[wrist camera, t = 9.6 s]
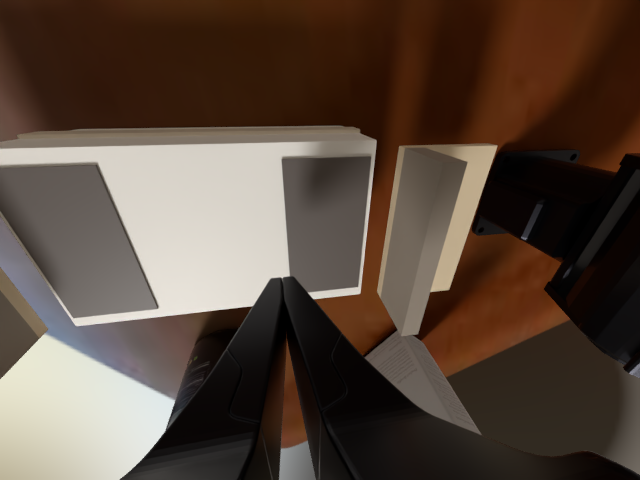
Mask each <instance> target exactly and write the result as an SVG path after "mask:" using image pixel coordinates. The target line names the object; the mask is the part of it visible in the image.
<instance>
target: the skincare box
mask: <svg viewBox="0 0 640 480" xmlns="http://www.w3.org/2000/svg"><path fill="white" fill-rule="evenodd" d="M364 358H365V359H366V360H368V361H369V362H370V363H371V364H372V365H373V366H374V367H375V368H376V369H377V370H378V371H379V372H380V373H381V374H382V375H383V376H385V377H386V378H387V379H388V380H389V381H390V382H391V383H392V384H393V385H394V386H395V387H396V388H398V389H399V390H400V391H401V392H402V393H403V394H404V395H405V396H406V397H407V398H408V399H410V400H411V401H412V402H413V403H414V404H416V405H417V406H418V407H420V408H421V409H423V410H424V411H426V412H428V413H430V414H431V415H434V416H436V417H438V418H441V419H443V420H446V421H448V422H451V423H453V424H456V425H458V426H460V427H463V428H465V429H468V430H470V431H473V432H475V433H478V434H480V435H481V433H480V432H479V430H478V429H477V427H476V425H475V424H474V422H473V421H472V419H471V417H470V416H469V414H468V413H467V412H466V410H465V408H464V407H463V405H462V404H461V402H460V400H459V399H458V397H457V396H456V394H455V392H454V391H453V389H452V388H451V386H450V384H449V383H448V381H447V380H446V378H445V376H444V375H443V373H442V372H441V370H440V369H439V367H438V365H437V364H436V362H435V361H434V359H433V358H432V356H431V355H430V353H429V351H428V350H427V348H426V347H425V345H424V343H423V342H421V341H420V340H419V339H417V338H416V337H414V336H413V335H409V336H402V337H401V335H400V333H399V331H398V330H397V331H396V332H395V333H393V334H392V335H391V336H390V337H389V338H387V339H386V340H385V341H384V342H383V343H381V344H380V345H379V346H378V347H376V348H375V349H374V350H373V351H372V352H370V353H369V354H368V355H367V356H366V357H364Z"/></svg>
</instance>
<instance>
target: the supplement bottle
mask: <svg viewBox="0 0 640 480" xmlns="http://www.w3.org/2000/svg"><path fill="white" fill-rule="evenodd" d="M237 331H238V329H226V330H220V331H217V332H214V333H211V334H209V335H207V336H206V337H204V338H203V339H201V340H200V341H199V342H198V343H197V344H196V346H195V347H194V349H193V351H192V353H191V356H190V359H189V361H188V364H187V367H186V370H185V373H184V376H183V379H182V382H181V385H180V388H179V391H178V394H177V397H176V401H175V404H174V407H173V410H172V413H171V416H170V419H169V422H168V425H167V428H166V430H167V429H168V427H169V426H170V425H171V424H172V422H173V421H174V420H175V419H176V417H177V416H178V415H179V413H180V412H181V411H182V410H183V408H184V407H185V406H186V405H187V403H188V402H189V401H190V399H191V398H192V397H193V396H194V394H195V393H196V392H197V390H198V389H199V388H200V386H201V385H202V384H203V382H204V381H205V380H206V378H207V377H208V376H209V374H210V373H211V371H212V370H213V368H214V367H215V365H216V364H217V362H218V361H219V359H220V358H221V356H222V354H223V353H224V351H225V350H227V349H226V348H227V347H228V345H229V343H230V342H231V340H232V339H233V337H234V335H235V334H236V332H237Z"/></svg>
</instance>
